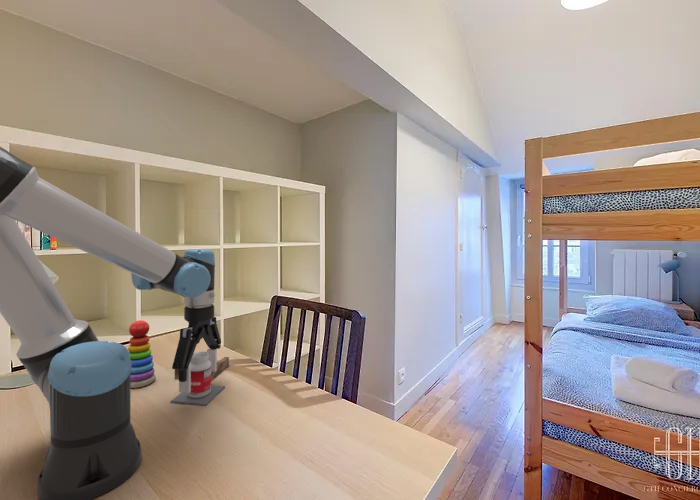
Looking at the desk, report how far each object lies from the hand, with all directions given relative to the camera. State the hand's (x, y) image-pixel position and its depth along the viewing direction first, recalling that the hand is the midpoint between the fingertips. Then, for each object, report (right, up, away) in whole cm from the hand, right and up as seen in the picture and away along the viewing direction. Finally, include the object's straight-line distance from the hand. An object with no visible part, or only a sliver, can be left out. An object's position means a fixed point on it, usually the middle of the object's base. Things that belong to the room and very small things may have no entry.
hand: (199, 380), depth 90 cm
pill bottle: (0, -4, 0) cm, 4 cm away
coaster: (0, -4, 0) cm, 4 cm away
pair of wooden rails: (-6, -3, +15) cm, 16 cm away
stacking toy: (-21, -3, +6) cm, 22 cm away
